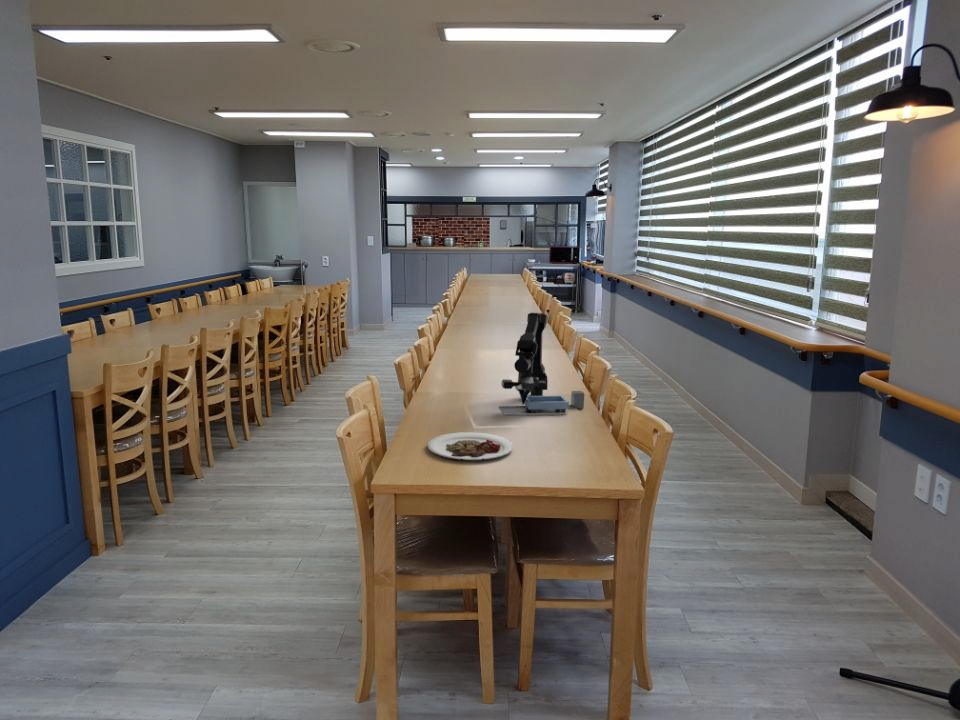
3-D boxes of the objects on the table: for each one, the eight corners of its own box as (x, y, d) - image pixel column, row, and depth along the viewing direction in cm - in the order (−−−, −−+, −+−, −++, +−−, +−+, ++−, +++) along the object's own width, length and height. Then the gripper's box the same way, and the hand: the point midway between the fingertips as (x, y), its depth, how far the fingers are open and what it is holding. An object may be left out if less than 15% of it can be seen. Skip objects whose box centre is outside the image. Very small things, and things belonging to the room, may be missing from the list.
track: (498, 408, 297) (498, 405, 297) (559, 408, 301) (559, 404, 300) (503, 417, 284) (503, 413, 284) (567, 416, 288) (567, 412, 288)
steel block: (570, 406, 304) (571, 390, 303) (580, 406, 305) (581, 390, 303) (573, 409, 300) (574, 393, 298) (583, 408, 300) (584, 393, 299)
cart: (523, 406, 297) (523, 396, 296) (561, 406, 300) (562, 395, 299) (528, 413, 286) (529, 402, 286) (568, 413, 289) (568, 402, 288)
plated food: (415, 441, 250) (416, 432, 249) (491, 433, 262) (491, 425, 261) (445, 468, 223) (445, 458, 222) (528, 458, 235) (528, 448, 234)
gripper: (506, 371, 279) (504, 408, 282) (551, 373, 282) (548, 410, 285) (502, 366, 290) (500, 402, 293) (545, 367, 293) (543, 403, 296)
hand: (523, 404), depth 291 cm, fingers closed
